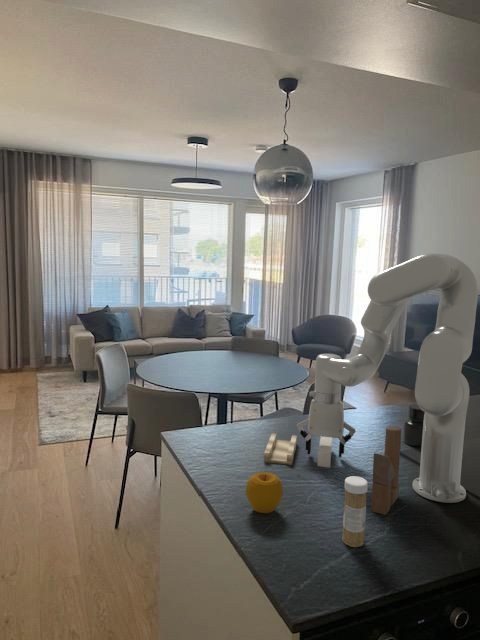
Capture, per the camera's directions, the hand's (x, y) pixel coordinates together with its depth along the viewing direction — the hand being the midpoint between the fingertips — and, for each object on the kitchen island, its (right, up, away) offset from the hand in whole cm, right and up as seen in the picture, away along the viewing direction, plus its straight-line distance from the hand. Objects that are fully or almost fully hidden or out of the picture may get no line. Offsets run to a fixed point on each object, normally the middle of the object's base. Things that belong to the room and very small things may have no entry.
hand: (324, 453), depth 142 cm
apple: (-19, -5, -30) cm, 36 cm away
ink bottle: (+32, 0, +14) cm, 35 cm away
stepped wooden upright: (+10, -5, -26) cm, 28 cm away
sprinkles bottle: (-1, -7, -42) cm, 43 cm away
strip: (0, -2, 0) cm, 2 cm away
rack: (-12, -1, +4) cm, 13 cm away
